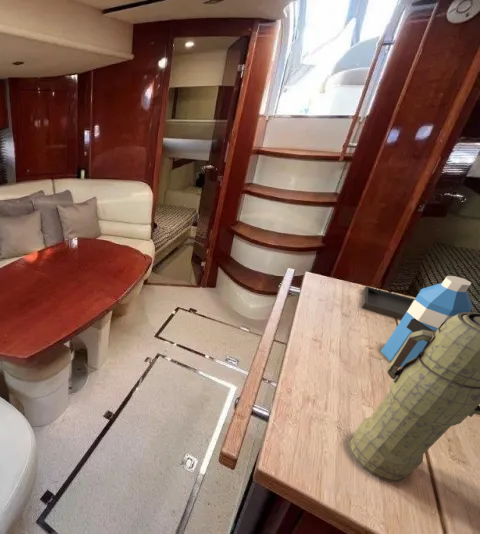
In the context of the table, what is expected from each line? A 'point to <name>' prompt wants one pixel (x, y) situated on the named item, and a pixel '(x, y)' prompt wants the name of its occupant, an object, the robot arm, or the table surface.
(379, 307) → the dark grey square tray
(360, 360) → the table surface
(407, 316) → the water bottle
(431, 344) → the thermos
